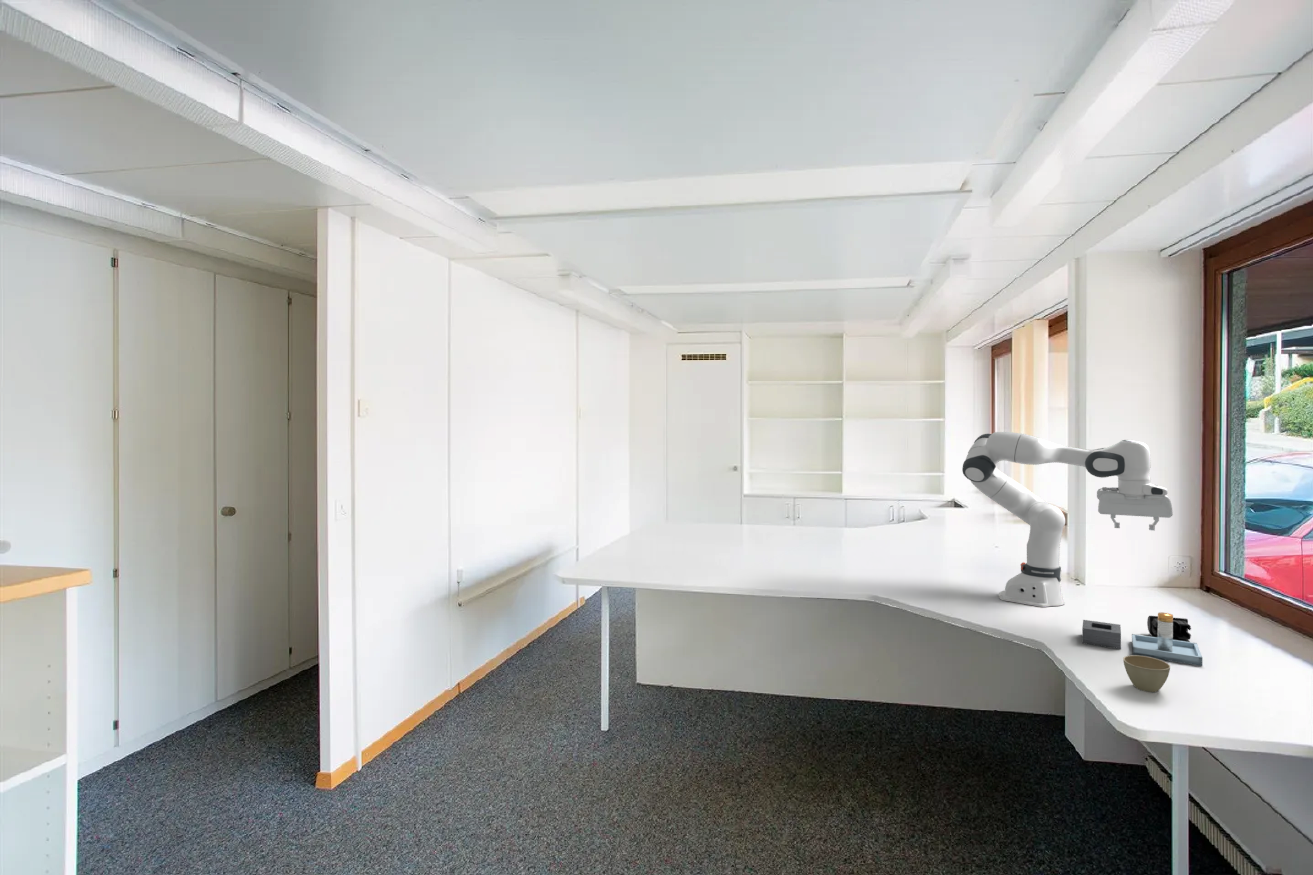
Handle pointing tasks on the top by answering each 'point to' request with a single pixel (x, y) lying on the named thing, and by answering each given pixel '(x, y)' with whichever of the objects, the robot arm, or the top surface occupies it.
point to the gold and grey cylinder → (1165, 632)
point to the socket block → (1101, 634)
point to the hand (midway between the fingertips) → (1134, 529)
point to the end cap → (1178, 628)
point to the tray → (1180, 653)
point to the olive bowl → (1146, 672)
